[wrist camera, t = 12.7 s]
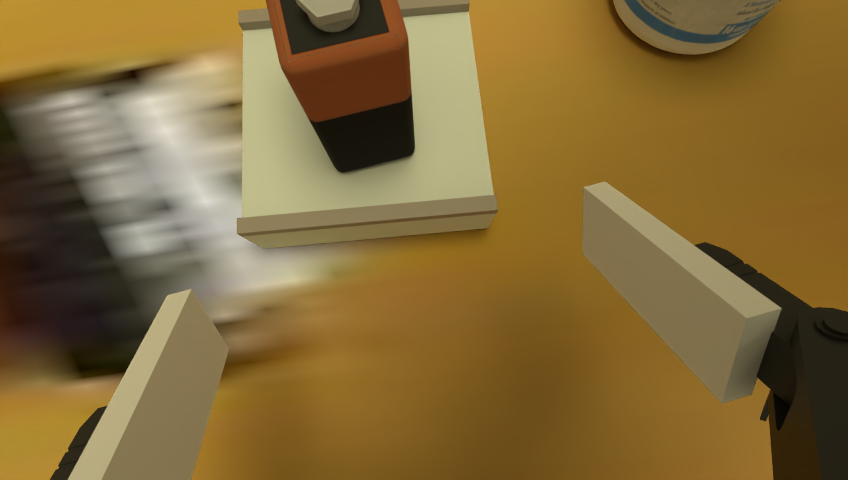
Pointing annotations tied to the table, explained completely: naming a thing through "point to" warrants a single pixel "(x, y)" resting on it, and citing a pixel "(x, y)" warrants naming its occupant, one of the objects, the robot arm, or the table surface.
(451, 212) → the stand
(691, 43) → the supplement tub
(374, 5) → the battery
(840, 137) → the table surface
